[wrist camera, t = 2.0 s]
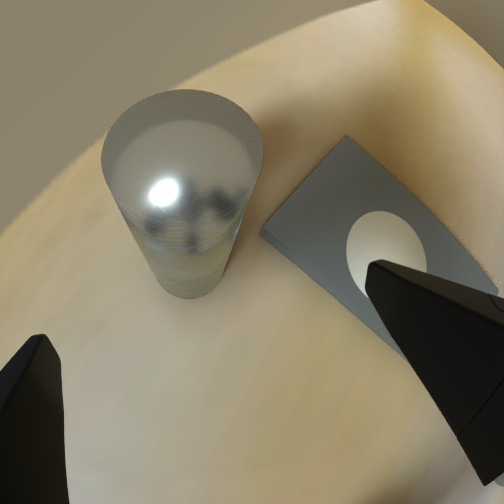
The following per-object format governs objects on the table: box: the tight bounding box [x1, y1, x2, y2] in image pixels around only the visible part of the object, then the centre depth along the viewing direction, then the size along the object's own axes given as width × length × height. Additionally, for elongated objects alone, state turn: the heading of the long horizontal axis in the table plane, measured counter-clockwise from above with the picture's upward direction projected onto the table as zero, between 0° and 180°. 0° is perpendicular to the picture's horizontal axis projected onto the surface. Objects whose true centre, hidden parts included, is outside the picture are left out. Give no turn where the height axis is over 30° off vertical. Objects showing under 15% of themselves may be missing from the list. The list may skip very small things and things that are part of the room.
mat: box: [259, 135, 498, 361], centre depth 21 cm, size 20×11×1 cm, turn 51°
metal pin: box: [101, 89, 264, 299], centre depth 13 cm, size 4×4×12 cm
